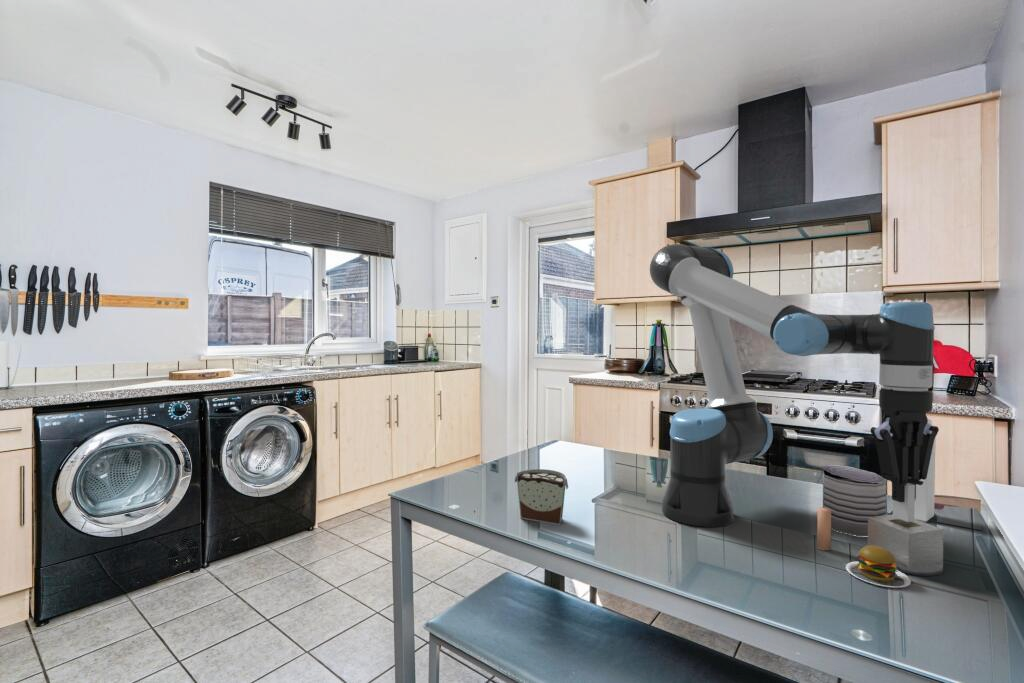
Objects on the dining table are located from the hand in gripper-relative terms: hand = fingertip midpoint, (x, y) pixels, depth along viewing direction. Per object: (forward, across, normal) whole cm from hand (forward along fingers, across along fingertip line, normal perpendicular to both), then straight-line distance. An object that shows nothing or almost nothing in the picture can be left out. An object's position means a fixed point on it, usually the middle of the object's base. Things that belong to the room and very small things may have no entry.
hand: (903, 518), depth 90 cm
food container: (+8, -56, +36) cm, 67 cm away
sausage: (+8, -9, +8) cm, 14 cm away
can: (+8, +5, +15) cm, 18 cm away
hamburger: (+9, -10, -3) cm, 13 cm away
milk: (+8, +25, +17) cm, 31 cm away
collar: (+7, 0, 0) cm, 7 cm away
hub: (+8, 0, 0) cm, 8 cm away
